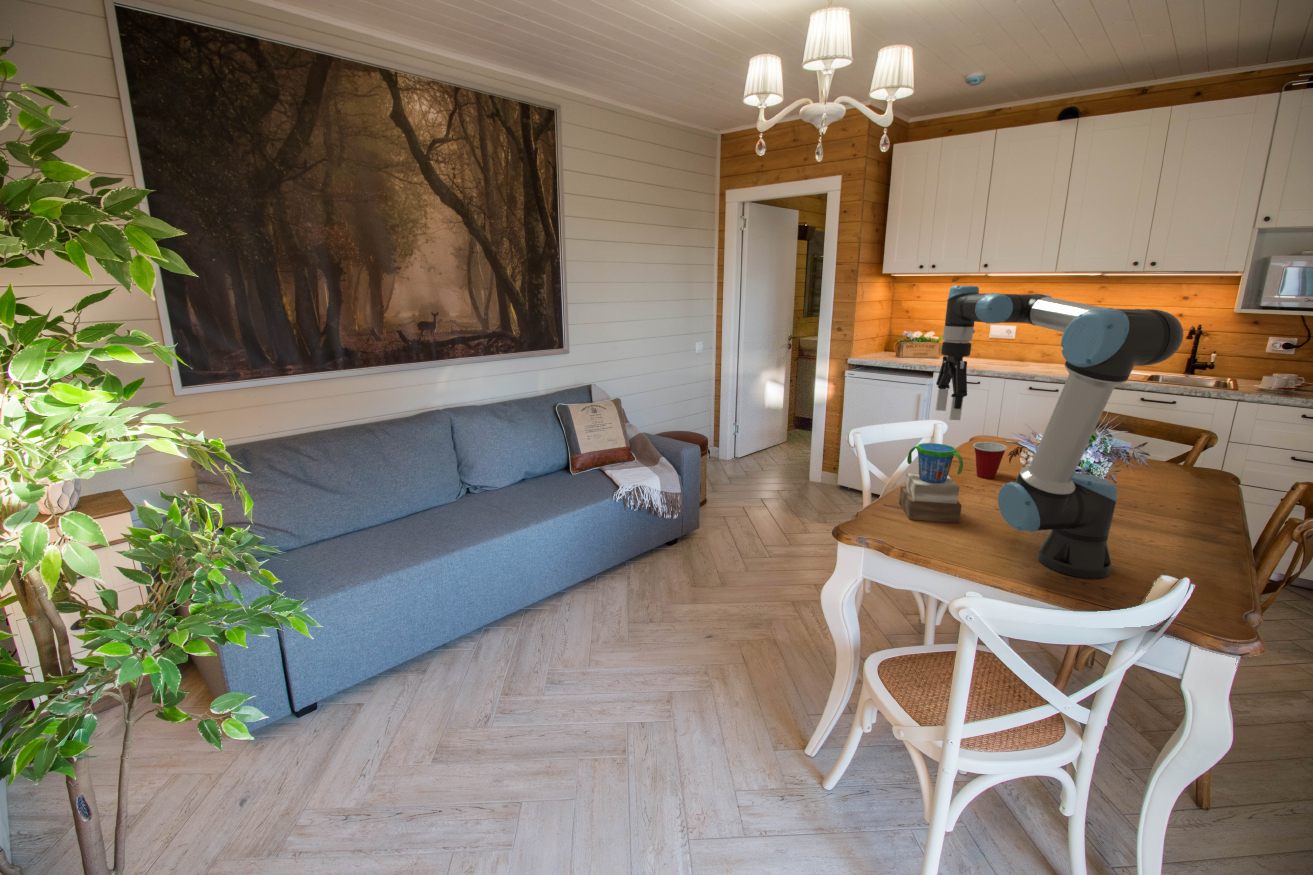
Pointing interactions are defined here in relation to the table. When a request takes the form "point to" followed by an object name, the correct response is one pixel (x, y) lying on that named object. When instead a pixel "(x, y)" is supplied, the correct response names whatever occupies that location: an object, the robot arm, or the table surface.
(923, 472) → the snack cup
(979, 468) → the plastic cup
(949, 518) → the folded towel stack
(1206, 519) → the table surface
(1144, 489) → the table surface
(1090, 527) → the robot arm
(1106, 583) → the table surface
